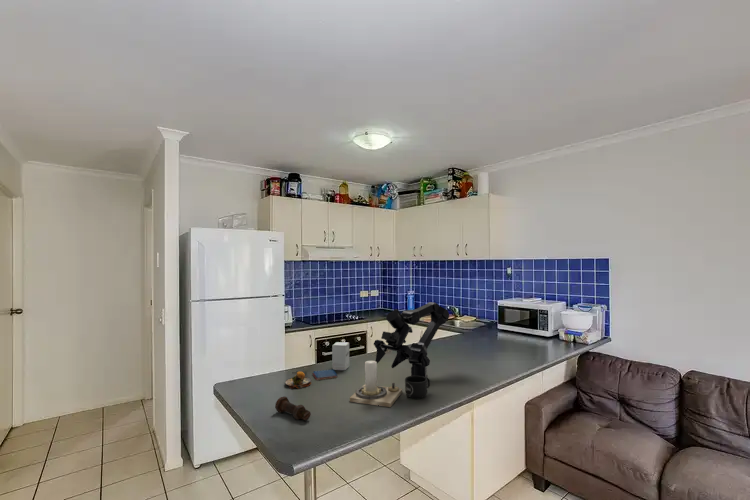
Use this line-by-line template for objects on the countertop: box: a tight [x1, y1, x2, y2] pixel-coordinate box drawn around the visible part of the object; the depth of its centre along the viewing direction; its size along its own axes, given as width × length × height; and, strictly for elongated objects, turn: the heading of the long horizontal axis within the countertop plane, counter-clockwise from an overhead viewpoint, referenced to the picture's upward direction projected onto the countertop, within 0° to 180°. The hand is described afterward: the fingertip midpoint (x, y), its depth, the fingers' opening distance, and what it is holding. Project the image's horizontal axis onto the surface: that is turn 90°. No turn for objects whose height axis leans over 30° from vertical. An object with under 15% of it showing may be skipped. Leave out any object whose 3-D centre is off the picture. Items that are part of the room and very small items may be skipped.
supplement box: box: [331, 341, 350, 371], centre depth 187 cm, size 7×7×13 cm
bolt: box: [274, 396, 312, 421], centre depth 131 cm, size 6×5×15 cm
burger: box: [284, 369, 312, 390], centre depth 164 cm, size 12×12×8 cm
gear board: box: [349, 382, 403, 408], centre depth 148 cm, size 17×16×4 cm
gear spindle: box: [362, 360, 381, 396], centre depth 147 cm, size 8×8×12 cm
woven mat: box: [312, 368, 338, 381], centre depth 175 cm, size 10×11×2 cm
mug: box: [404, 375, 431, 400], centre depth 149 cm, size 12×9×7 cm
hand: (383, 365), depth 153 cm, fingers open, 9 cm apart
